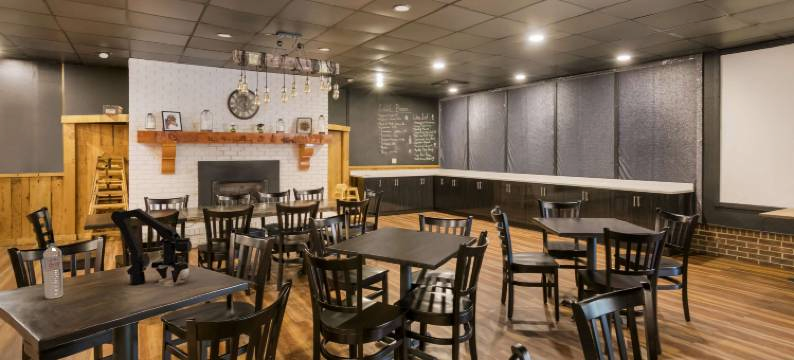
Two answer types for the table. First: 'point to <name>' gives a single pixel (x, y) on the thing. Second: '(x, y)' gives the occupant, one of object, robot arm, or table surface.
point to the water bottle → (53, 272)
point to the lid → (168, 281)
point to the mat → (172, 284)
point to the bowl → (183, 273)
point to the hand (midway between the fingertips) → (170, 281)
